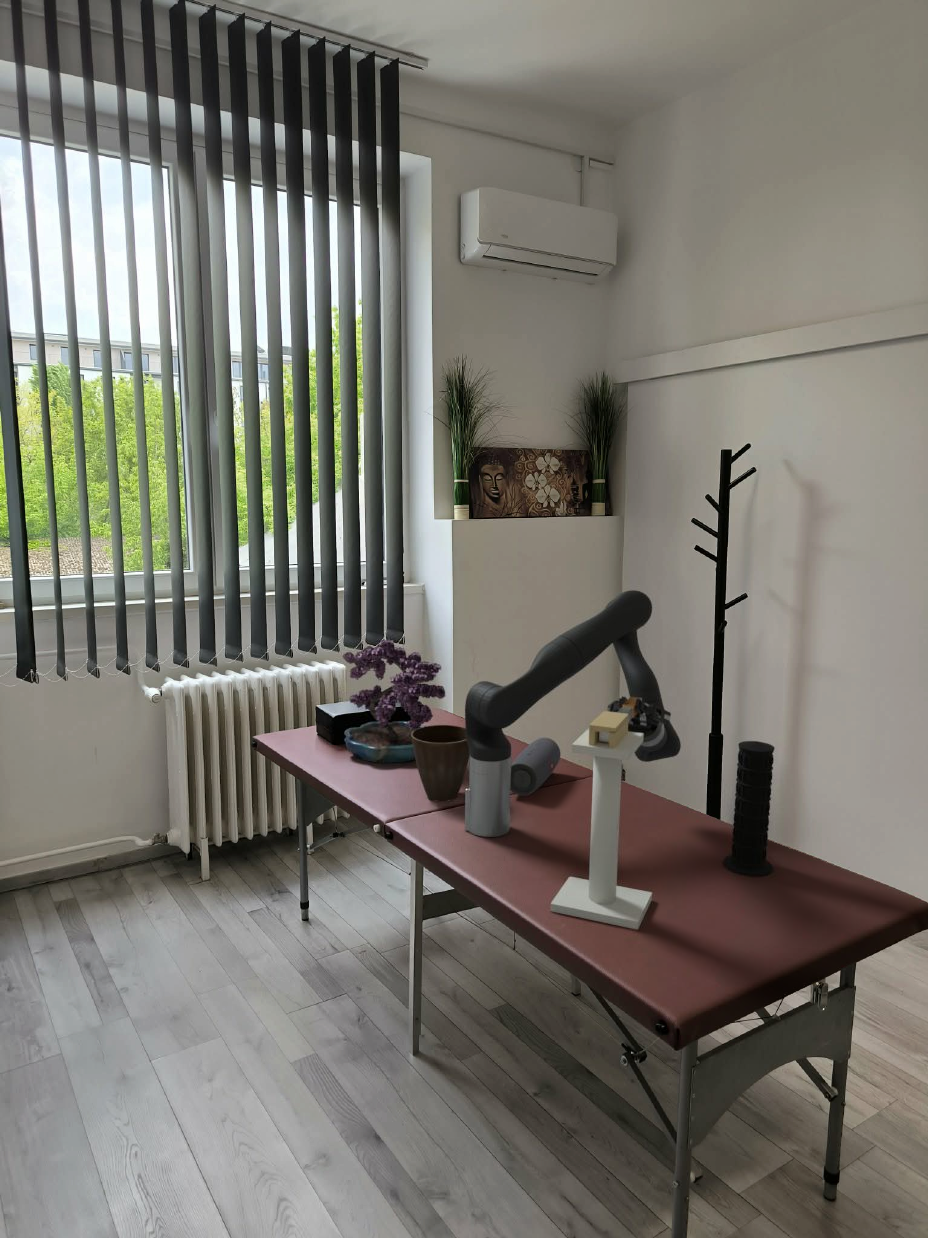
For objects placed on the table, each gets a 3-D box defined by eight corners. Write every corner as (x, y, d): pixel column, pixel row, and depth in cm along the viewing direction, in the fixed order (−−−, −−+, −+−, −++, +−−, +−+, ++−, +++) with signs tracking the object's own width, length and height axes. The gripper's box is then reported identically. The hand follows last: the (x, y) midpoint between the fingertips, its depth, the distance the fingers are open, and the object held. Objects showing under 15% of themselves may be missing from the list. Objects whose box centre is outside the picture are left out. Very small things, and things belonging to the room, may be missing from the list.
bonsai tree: (325, 745, 258) (324, 634, 252) (409, 732, 271) (410, 627, 266) (377, 782, 228) (376, 657, 223) (468, 766, 242) (470, 648, 236)
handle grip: (773, 880, 176) (774, 859, 186) (783, 751, 172) (783, 737, 181) (721, 872, 179) (724, 852, 189) (729, 745, 175) (731, 731, 184)
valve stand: (550, 911, 163) (556, 722, 157) (569, 883, 174) (575, 706, 168) (637, 929, 157) (647, 733, 151) (651, 900, 167) (661, 716, 161)
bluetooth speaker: (539, 803, 215) (540, 763, 214) (502, 798, 218) (503, 759, 217) (562, 774, 236) (563, 737, 235) (528, 769, 239) (529, 733, 238)
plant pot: (450, 812, 209) (451, 746, 206) (399, 799, 217) (399, 735, 214) (483, 793, 221) (484, 731, 219) (433, 781, 229) (433, 721, 226)
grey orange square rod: (597, 741, 157) (598, 729, 157) (630, 707, 180) (630, 696, 180) (610, 743, 157) (611, 730, 156) (641, 709, 179) (641, 698, 179)
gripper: (615, 704, 193) (598, 680, 178) (680, 712, 188) (668, 687, 173) (609, 738, 191) (592, 716, 176) (675, 747, 185) (663, 725, 170)
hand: (630, 702), depth 174 cm, fingers closed on grey orange square rod, 2 cm apart
